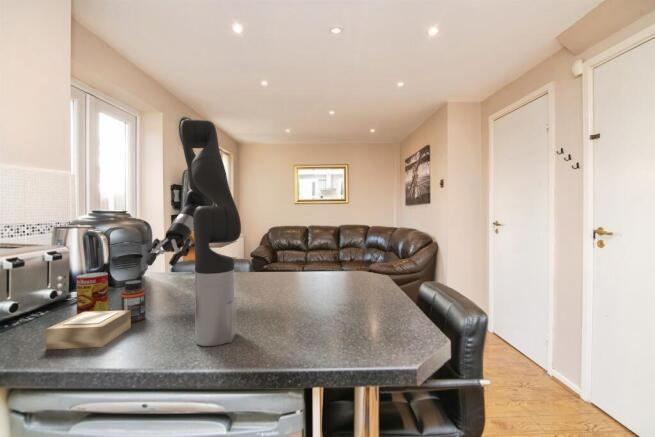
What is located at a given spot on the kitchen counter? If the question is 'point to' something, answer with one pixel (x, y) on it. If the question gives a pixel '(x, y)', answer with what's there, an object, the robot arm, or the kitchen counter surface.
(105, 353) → the kitchen counter surface
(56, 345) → the oak plinth
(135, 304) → the supplement bottle
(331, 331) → the kitchen counter surface
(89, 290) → the canned food
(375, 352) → the kitchen counter surface
